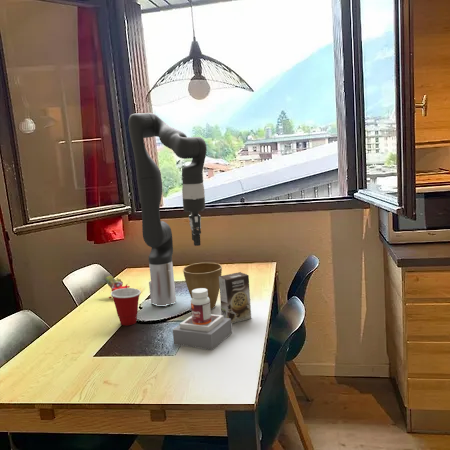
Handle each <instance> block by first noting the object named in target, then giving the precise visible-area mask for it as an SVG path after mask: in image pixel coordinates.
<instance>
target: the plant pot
mask: <svg viewBox="0 0 450 450" xmlns="http://www.w3.org/2000/svg"><path fill="white" fill-rule="evenodd" d="M222 269H223V266H222V265H221V264H220V263H216V262H198V263H191V264H189V265H187V266H185V267H183V268H182V272H183V276H184V280H185V284H186V287H187V290H188V293H189V295H190V298H191V299H192V298H193V297H192V290H194V289H198V288H205V289H207V290H208V296H207V297H209V299H210V309H211V310H213V309H214V308H215V307H216V305H217V301H218V297H219V295H220V286H219V276H222V271H223V270H222Z"/></svg>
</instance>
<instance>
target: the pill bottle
mask: <svg viewBox="0 0 450 450" xmlns="http://www.w3.org/2000/svg"><path fill="white" fill-rule="evenodd" d="M207 296H208V290H207V289H205V288H198V289H194V290H192V297H193V298H191V300H190V308H191V316H192V321H193V324H196V325H205V326H207V325H209V324H210V323H211V314H212V311H211V310H212V309H210V299H209V297H207Z"/></svg>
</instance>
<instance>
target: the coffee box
mask: <svg viewBox="0 0 450 450" xmlns="http://www.w3.org/2000/svg"><path fill="white" fill-rule="evenodd" d="M249 278H250V277H249V274H247V273H243V272H241V271H240V272H234V273H230V274H224V275H221V276H219V286H220V289H219V297H220V313H221V314H220V315H223V316H224V318H231V324H232V325H233V324H235V323H239V322H243V321H247V320H250V319H252V311H251V310H252V309H251V293H250V279H249Z"/></svg>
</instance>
